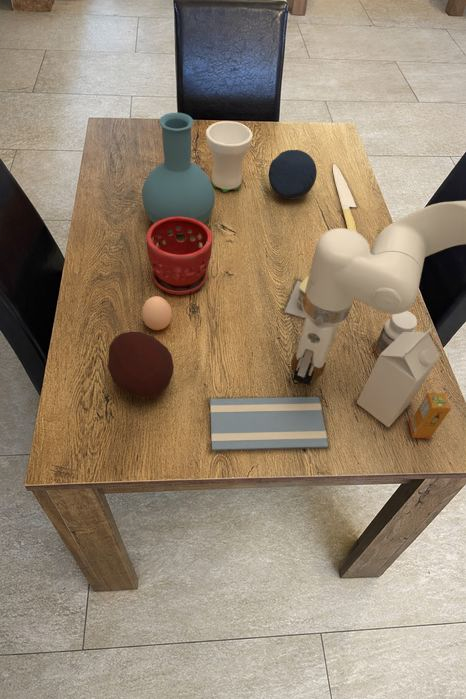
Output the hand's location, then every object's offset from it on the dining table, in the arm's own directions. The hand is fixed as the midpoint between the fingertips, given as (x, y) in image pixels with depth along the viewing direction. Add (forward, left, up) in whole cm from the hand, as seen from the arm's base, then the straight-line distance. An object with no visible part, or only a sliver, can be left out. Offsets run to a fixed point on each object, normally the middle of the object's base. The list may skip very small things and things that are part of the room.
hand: (307, 367), depth 93 cm
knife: (+8, -57, -3) cm, 58 cm away
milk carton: (-15, 0, -3) cm, 15 cm away
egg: (+31, +1, -3) cm, 31 cm away
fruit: (0, 0, -3) cm, 3 cm away
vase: (+42, -30, -3) cm, 51 cm away
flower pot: (+33, -13, -3) cm, 35 cm away
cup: (+38, -49, -3) cm, 62 cm away
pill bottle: (-13, -13, -3) cm, 19 cm away
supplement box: (-22, +2, -3) cm, 23 cm away
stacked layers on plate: (+5, -19, -3) cm, 20 cm away
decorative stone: (+22, -53, -3) cm, 57 cm away
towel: (+3, +13, -3) cm, 13 cm away
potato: (+27, +14, -3) cm, 30 cm away
